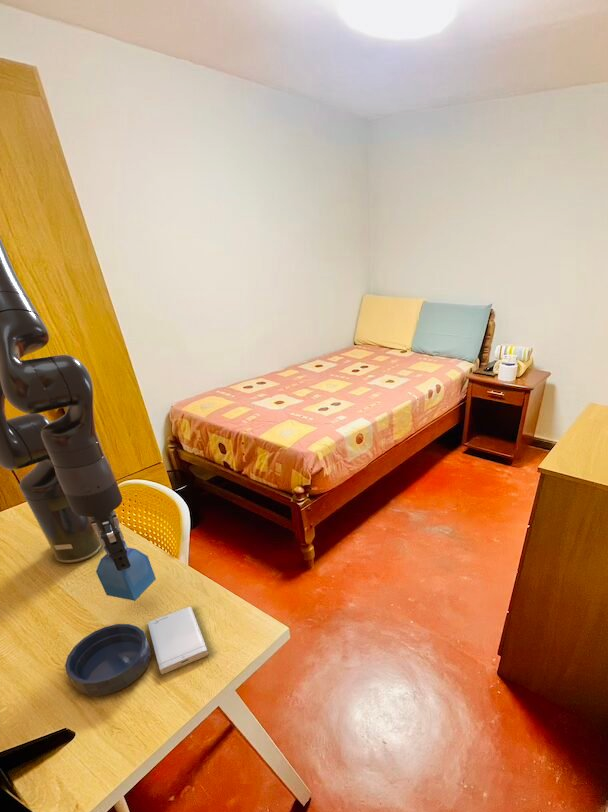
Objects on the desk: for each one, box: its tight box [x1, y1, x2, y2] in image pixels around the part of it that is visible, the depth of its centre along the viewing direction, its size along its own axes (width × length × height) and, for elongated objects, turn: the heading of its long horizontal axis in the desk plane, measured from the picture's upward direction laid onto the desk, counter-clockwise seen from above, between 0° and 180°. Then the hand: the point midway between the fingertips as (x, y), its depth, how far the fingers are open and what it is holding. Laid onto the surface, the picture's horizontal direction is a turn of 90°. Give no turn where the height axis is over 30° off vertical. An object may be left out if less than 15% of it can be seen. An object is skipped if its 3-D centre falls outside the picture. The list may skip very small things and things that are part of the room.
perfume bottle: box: [95, 539, 157, 602], centre depth 80 cm, size 6×6×12 cm
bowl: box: [64, 623, 152, 697], centre depth 75 cm, size 12×12×4 cm
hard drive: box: [147, 606, 209, 675], centre depth 80 cm, size 2×8×12 cm
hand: (120, 558), depth 79 cm, fingers closed on perfume bottle, 5 cm apart
